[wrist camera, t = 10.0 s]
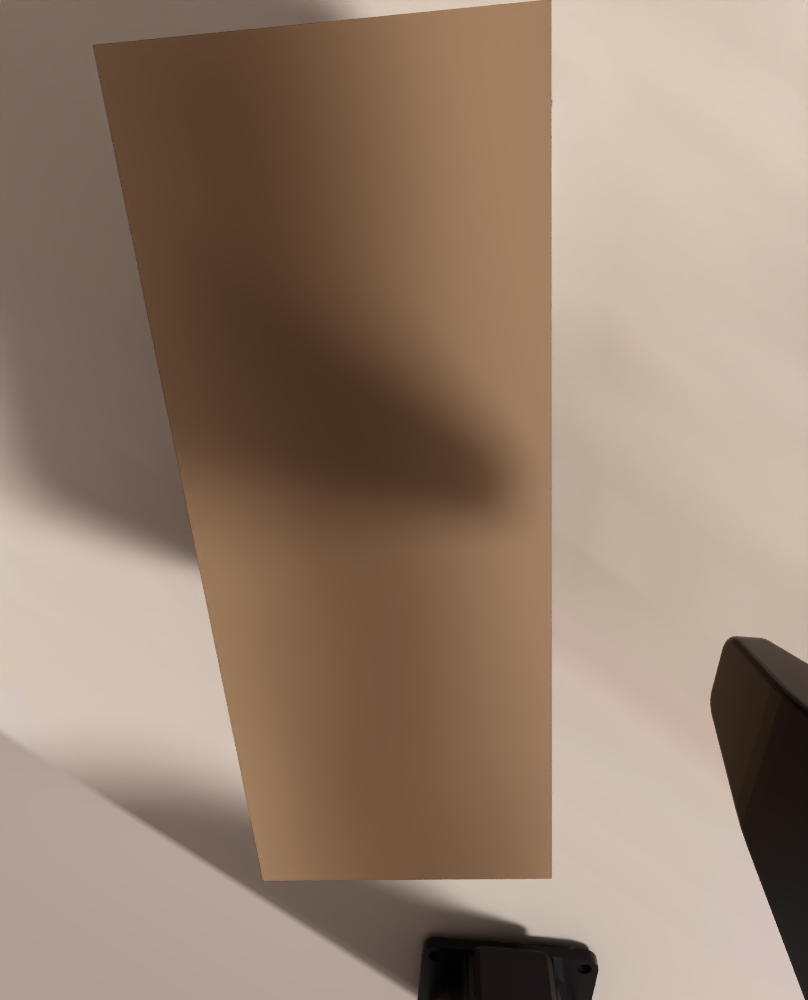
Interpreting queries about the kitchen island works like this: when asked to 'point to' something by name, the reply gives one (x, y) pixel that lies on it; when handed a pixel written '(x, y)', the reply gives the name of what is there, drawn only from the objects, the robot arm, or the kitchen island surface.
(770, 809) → the robot arm
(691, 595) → the kitchen island surface
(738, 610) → the kitchen island surface
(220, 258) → the board
